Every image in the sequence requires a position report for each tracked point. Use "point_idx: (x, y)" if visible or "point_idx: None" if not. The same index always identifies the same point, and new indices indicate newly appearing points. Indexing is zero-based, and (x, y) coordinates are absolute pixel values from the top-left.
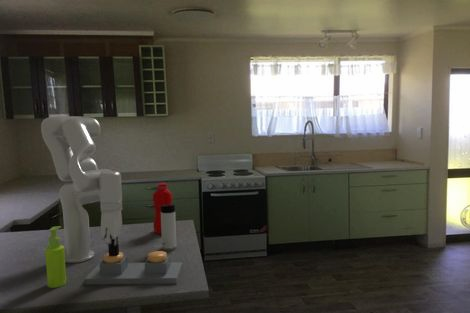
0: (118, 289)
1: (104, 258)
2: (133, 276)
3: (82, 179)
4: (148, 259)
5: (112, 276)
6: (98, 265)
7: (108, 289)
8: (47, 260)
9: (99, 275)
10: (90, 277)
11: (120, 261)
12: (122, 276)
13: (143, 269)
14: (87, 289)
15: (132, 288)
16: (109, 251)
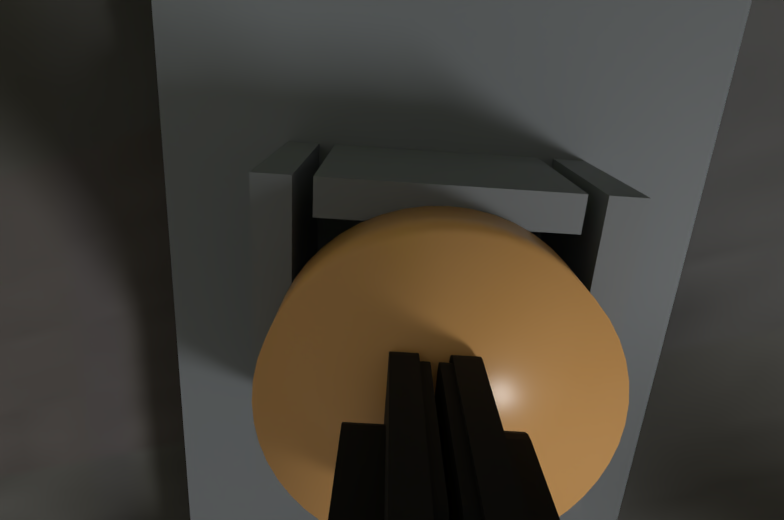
0: (85, 379)
1: (317, 269)
2: (237, 517)
3: None
4: None
5: (235, 312)
6: (649, 3)
7: (74, 287)
8: None
9: (264, 139)
10: (195, 26)
11: None
12: (236, 418)
13: None
14: (46, 49)
15: (118, 487)
16: (387, 417)
